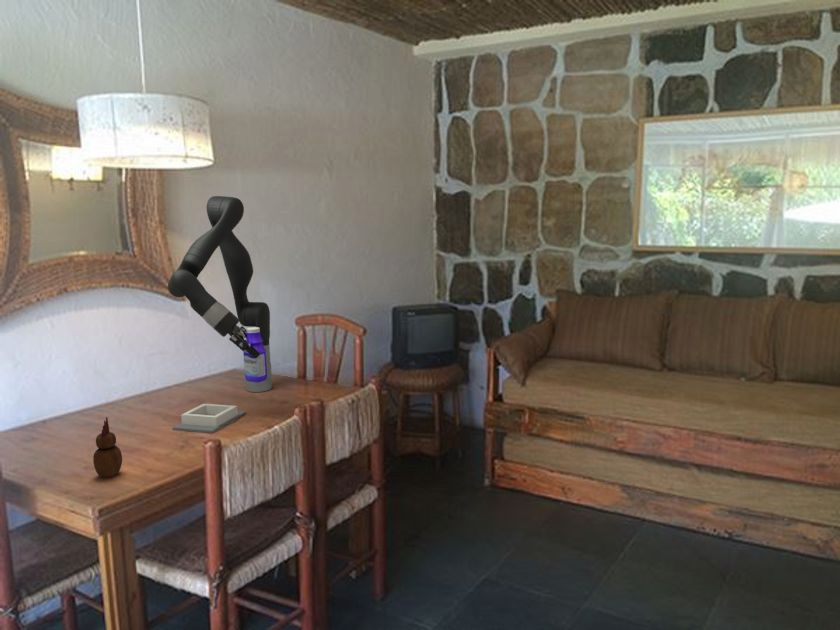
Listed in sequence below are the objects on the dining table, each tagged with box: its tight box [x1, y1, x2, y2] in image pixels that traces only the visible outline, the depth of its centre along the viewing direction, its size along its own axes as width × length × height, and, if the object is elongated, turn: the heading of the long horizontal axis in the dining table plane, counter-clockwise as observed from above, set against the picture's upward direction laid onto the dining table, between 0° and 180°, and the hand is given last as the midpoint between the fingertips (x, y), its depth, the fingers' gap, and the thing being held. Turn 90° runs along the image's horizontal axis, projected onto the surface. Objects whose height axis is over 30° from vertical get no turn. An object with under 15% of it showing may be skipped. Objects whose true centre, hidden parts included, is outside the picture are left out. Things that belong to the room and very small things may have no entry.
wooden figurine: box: [92, 416, 123, 478], centre depth 173 cm, size 7×6×15 cm
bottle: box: [242, 327, 267, 382], centre depth 218 cm, size 7×6×17 cm
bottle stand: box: [171, 403, 247, 434], centre depth 217 cm, size 20×14×4 cm
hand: (259, 353), depth 218 cm, fingers closed on bottle, 6 cm apart
